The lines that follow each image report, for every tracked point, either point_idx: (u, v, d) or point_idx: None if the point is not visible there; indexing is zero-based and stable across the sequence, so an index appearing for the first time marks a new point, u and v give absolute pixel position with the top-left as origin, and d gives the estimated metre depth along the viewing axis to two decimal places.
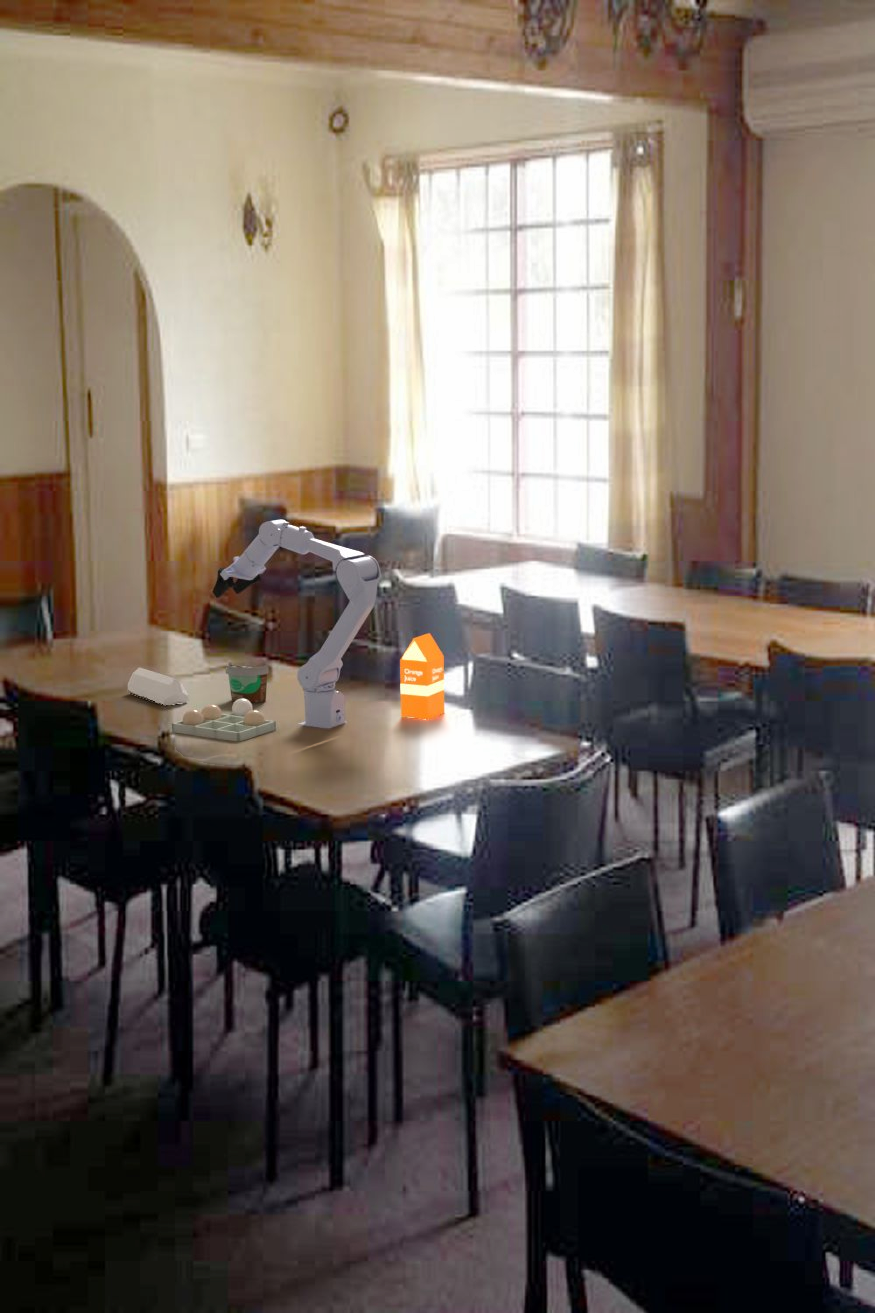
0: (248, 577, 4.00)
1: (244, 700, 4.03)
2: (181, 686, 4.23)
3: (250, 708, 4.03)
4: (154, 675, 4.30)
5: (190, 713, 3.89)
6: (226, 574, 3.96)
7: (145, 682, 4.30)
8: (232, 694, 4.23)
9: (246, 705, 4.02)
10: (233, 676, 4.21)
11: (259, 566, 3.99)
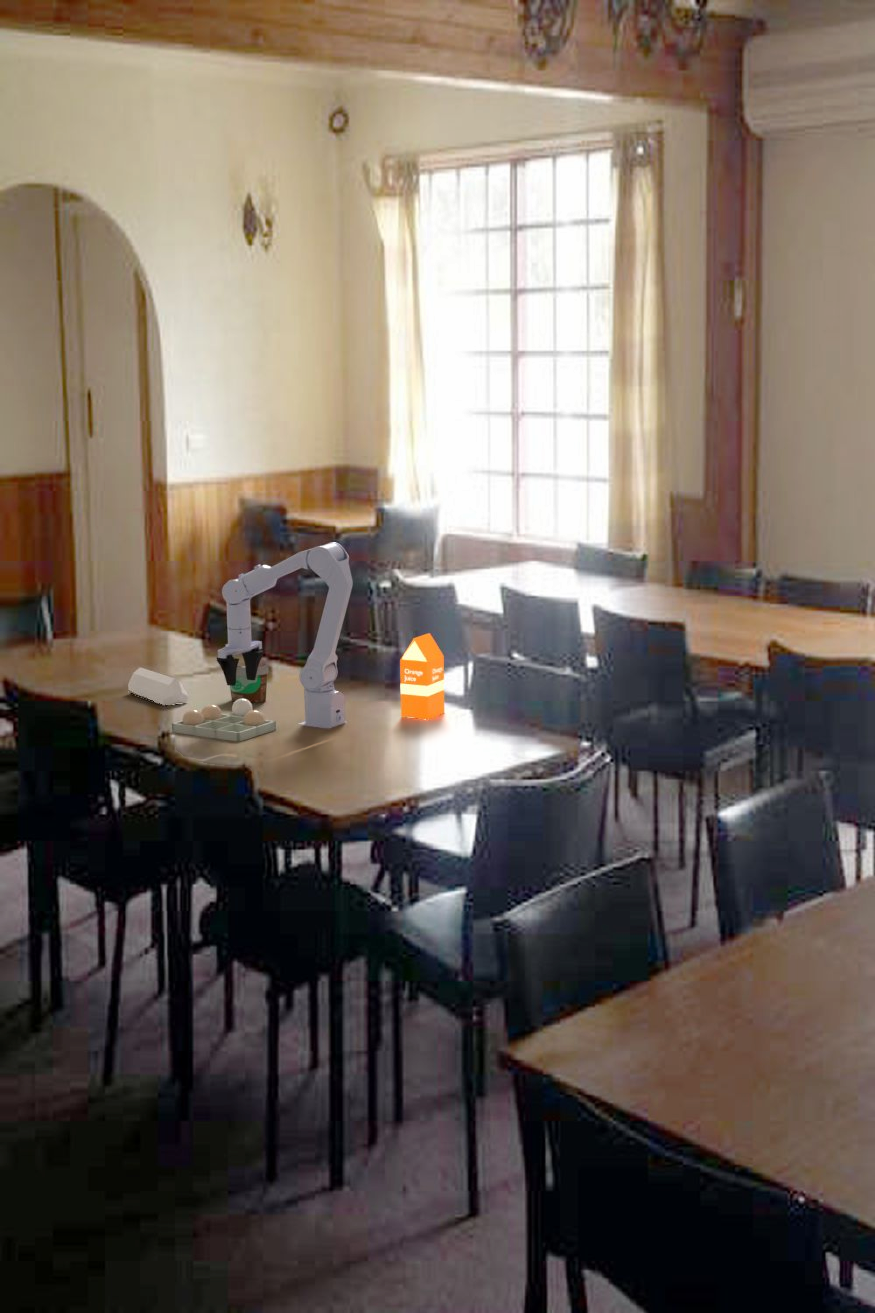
0: (245, 647, 3.99)
1: (244, 700, 4.03)
2: (180, 686, 4.23)
3: (250, 708, 4.03)
4: (154, 675, 4.30)
5: (190, 713, 3.89)
6: (222, 652, 3.95)
7: (145, 682, 4.31)
8: (232, 694, 4.23)
9: (246, 705, 4.02)
10: None
11: (246, 630, 3.98)
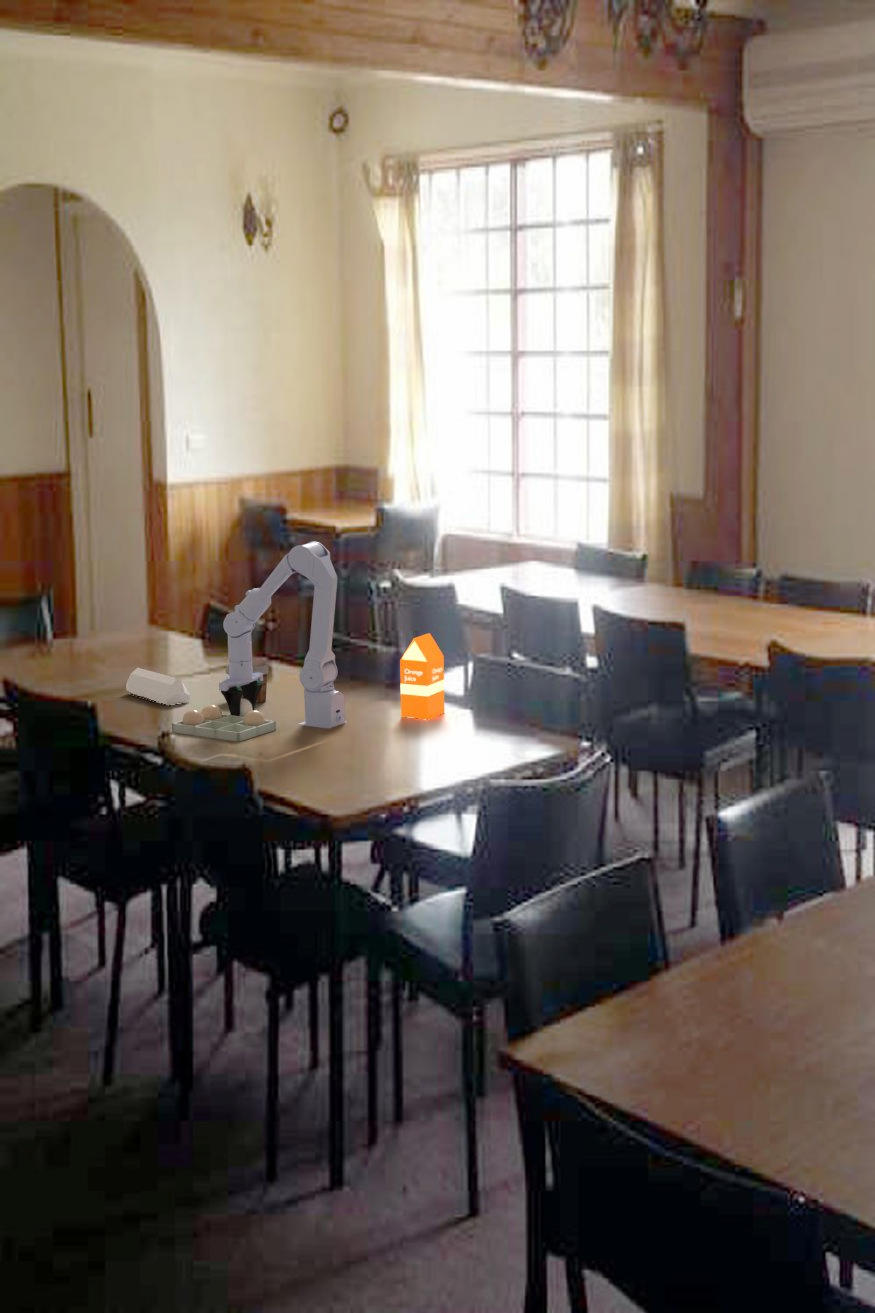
0: (246, 679, 4.00)
1: (244, 700, 4.03)
2: (183, 686, 4.23)
3: (250, 708, 4.03)
4: (154, 675, 4.30)
5: (190, 713, 3.89)
6: (223, 684, 3.96)
7: (145, 683, 4.30)
8: None
9: (246, 705, 4.02)
10: None
11: (247, 662, 4.00)
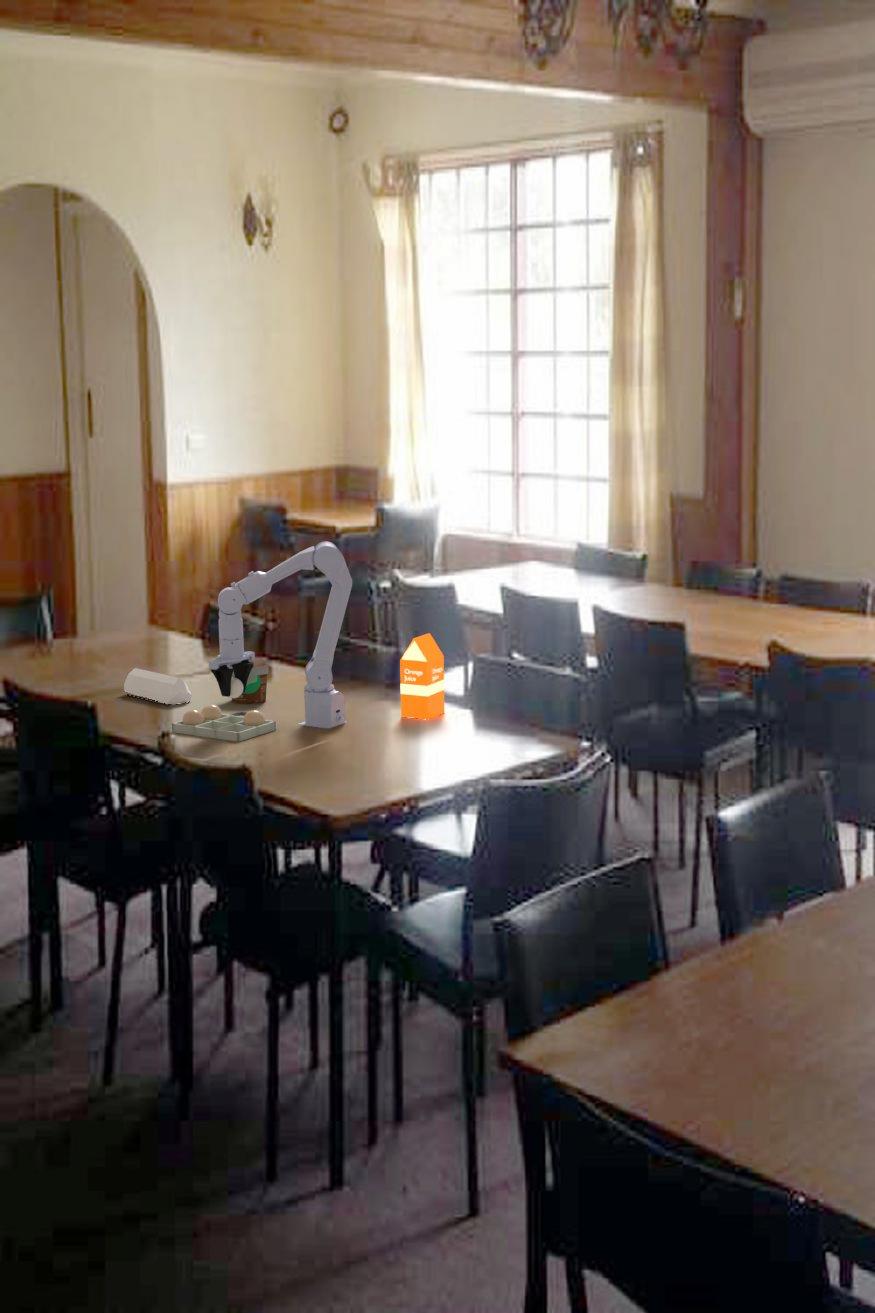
0: (237, 658, 3.90)
1: (235, 679, 3.93)
2: (185, 685, 4.24)
3: (241, 687, 3.93)
4: (154, 675, 4.29)
5: (190, 713, 3.89)
6: (213, 663, 3.86)
7: (144, 683, 4.30)
8: None
9: (236, 685, 3.92)
10: (233, 676, 4.21)
11: (238, 640, 3.90)
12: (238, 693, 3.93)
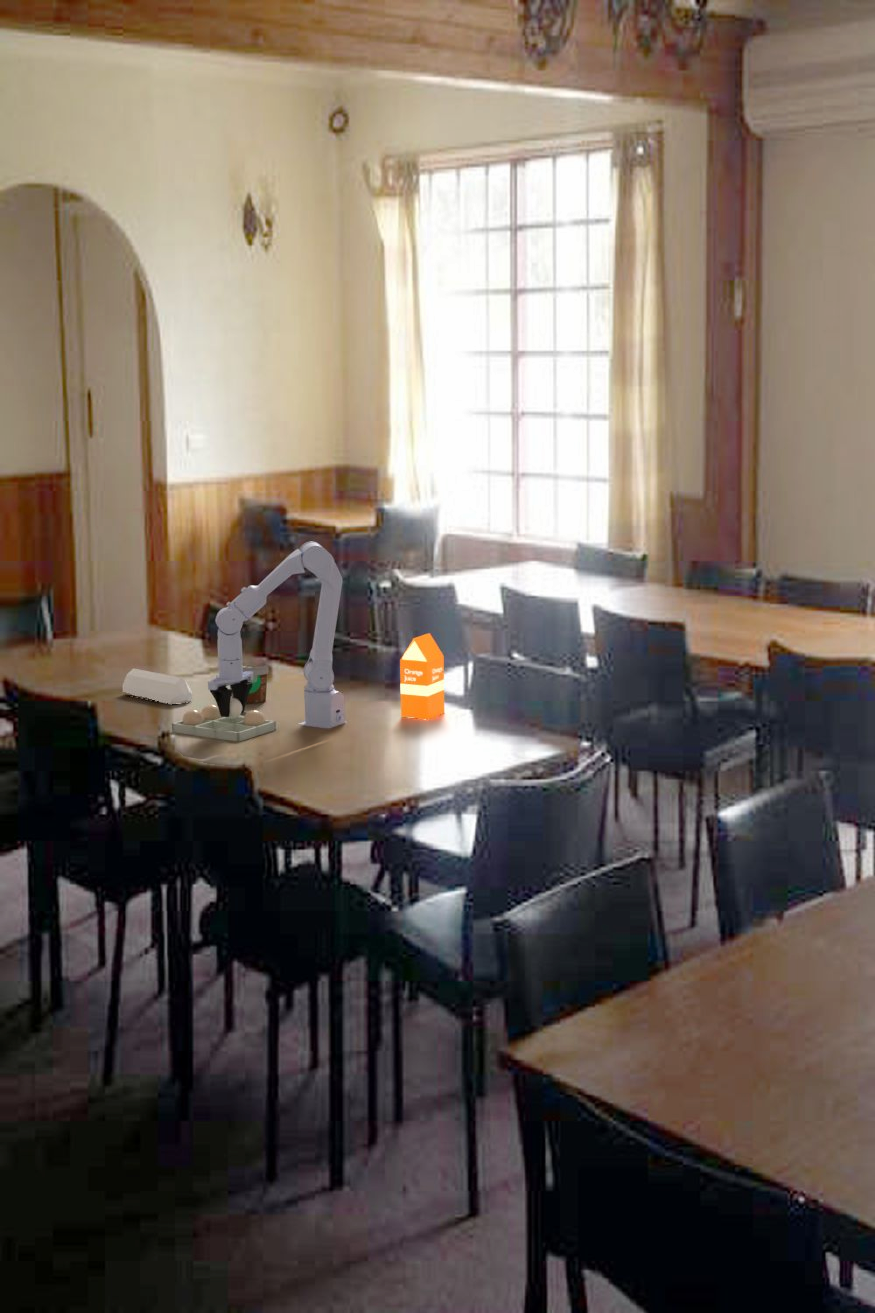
0: (236, 678, 3.89)
1: (234, 699, 3.92)
2: (186, 685, 4.24)
3: (240, 708, 3.92)
4: (154, 675, 4.29)
5: (190, 713, 3.89)
6: (212, 683, 3.85)
7: (144, 683, 4.30)
8: (232, 694, 4.23)
9: (235, 705, 3.91)
10: None
11: (237, 661, 3.89)
12: (237, 713, 3.91)
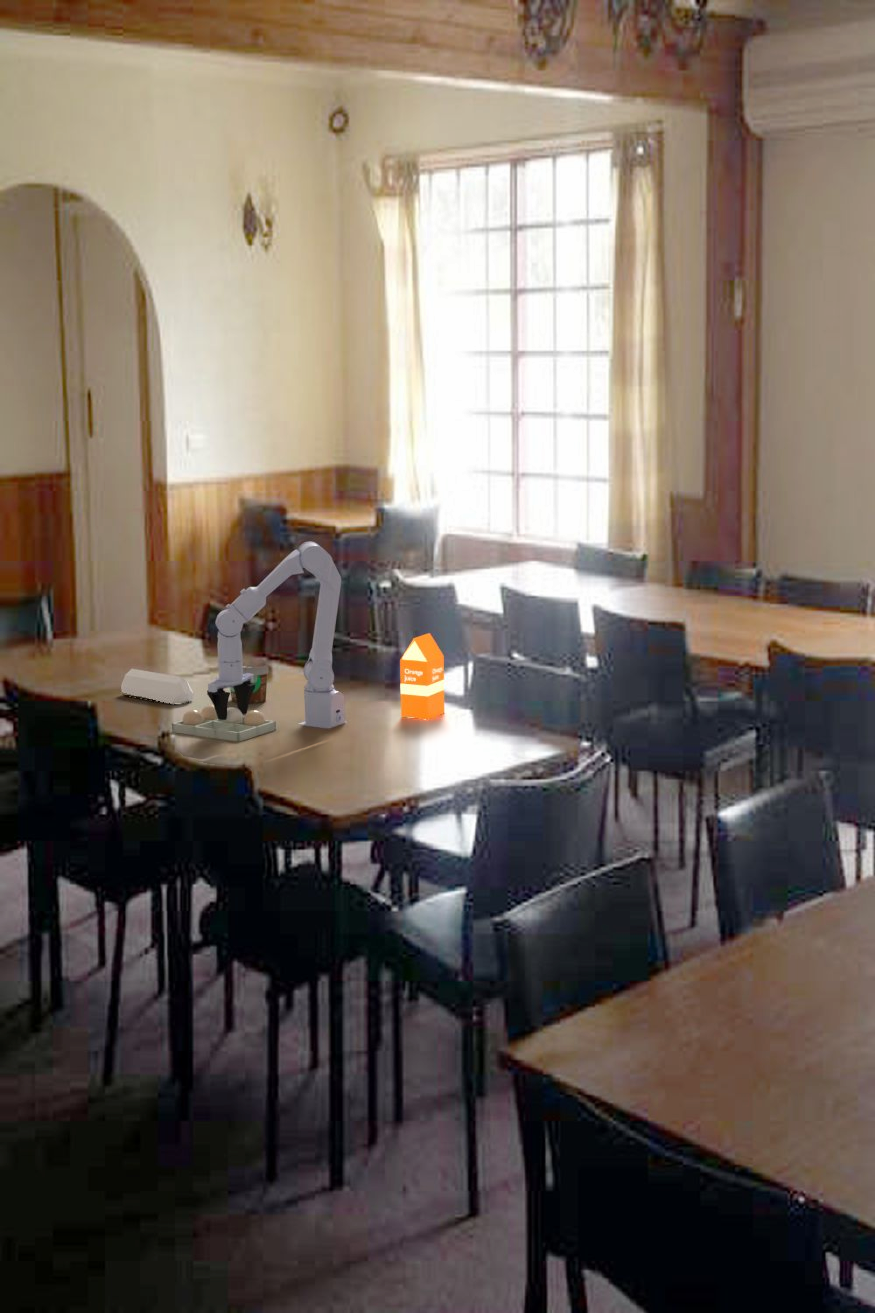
0: (236, 680, 3.89)
1: (234, 709, 3.92)
2: (188, 684, 4.25)
3: (240, 717, 3.92)
4: (154, 675, 4.29)
5: (190, 713, 3.89)
6: (212, 686, 3.85)
7: (144, 683, 4.30)
8: (232, 694, 4.23)
9: (236, 714, 3.91)
10: None
11: (237, 663, 3.89)
12: None
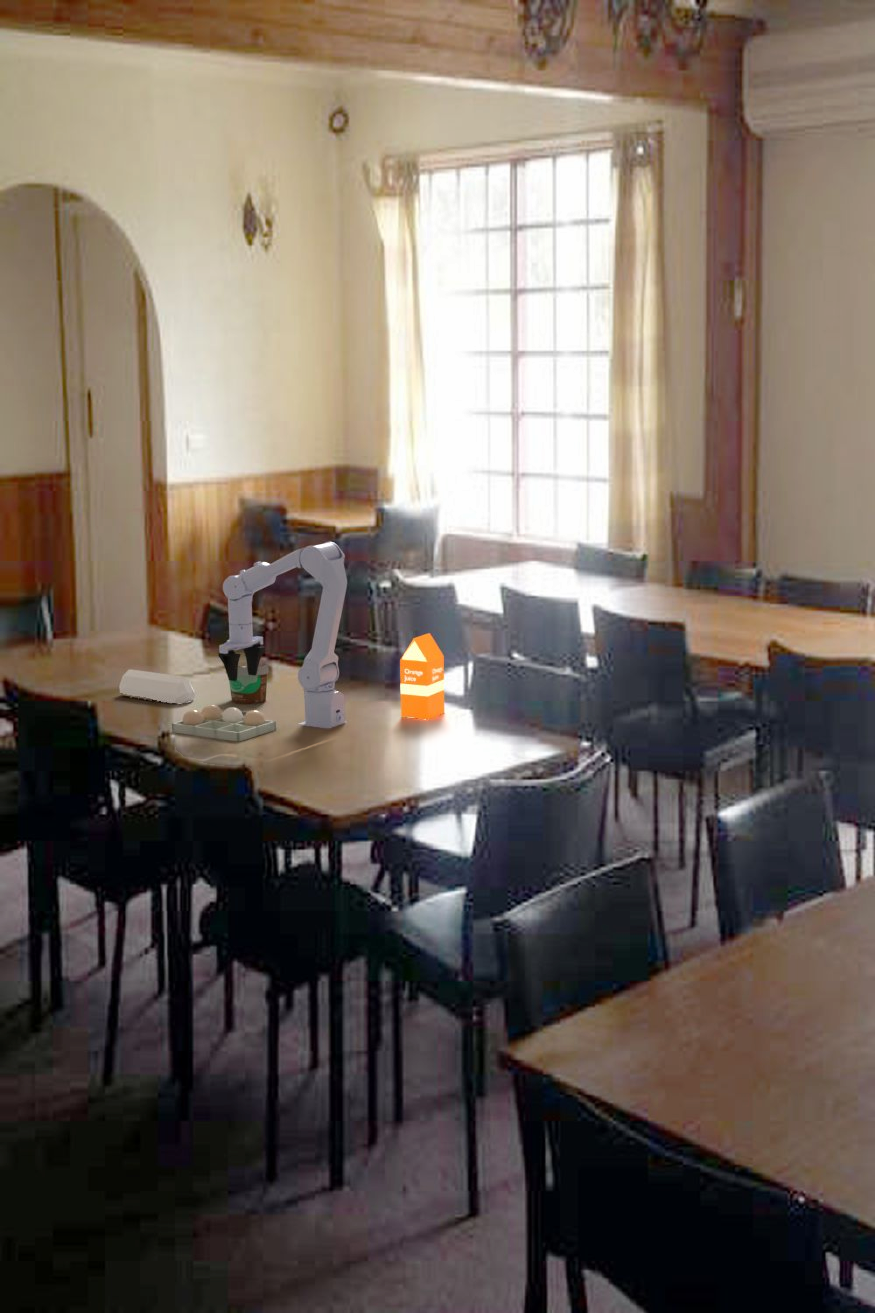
0: (246, 642, 4.02)
1: (234, 709, 3.92)
2: (190, 684, 4.25)
3: (240, 717, 3.92)
4: (154, 675, 4.29)
5: (190, 713, 3.89)
6: (223, 647, 3.98)
7: (144, 683, 4.29)
8: (232, 694, 4.23)
9: (236, 714, 3.91)
10: None
11: (247, 625, 4.02)
12: None
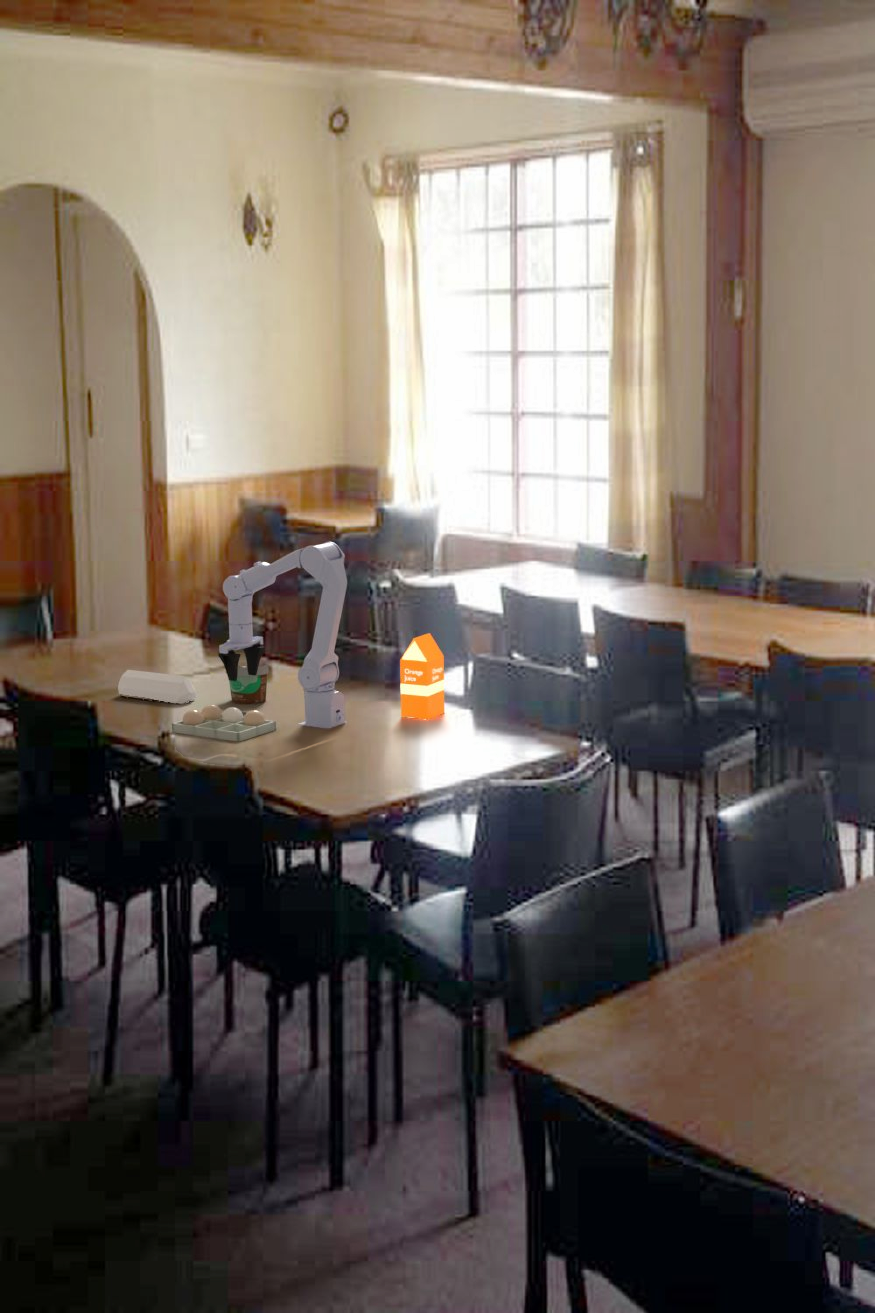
0: (246, 642, 4.02)
1: (234, 709, 3.92)
2: (191, 683, 4.26)
3: (240, 717, 3.92)
4: (154, 675, 4.29)
5: (190, 713, 3.89)
6: (223, 647, 3.98)
7: (144, 683, 4.29)
8: (232, 694, 4.23)
9: (236, 714, 3.91)
10: None
11: (247, 625, 4.02)
12: None
